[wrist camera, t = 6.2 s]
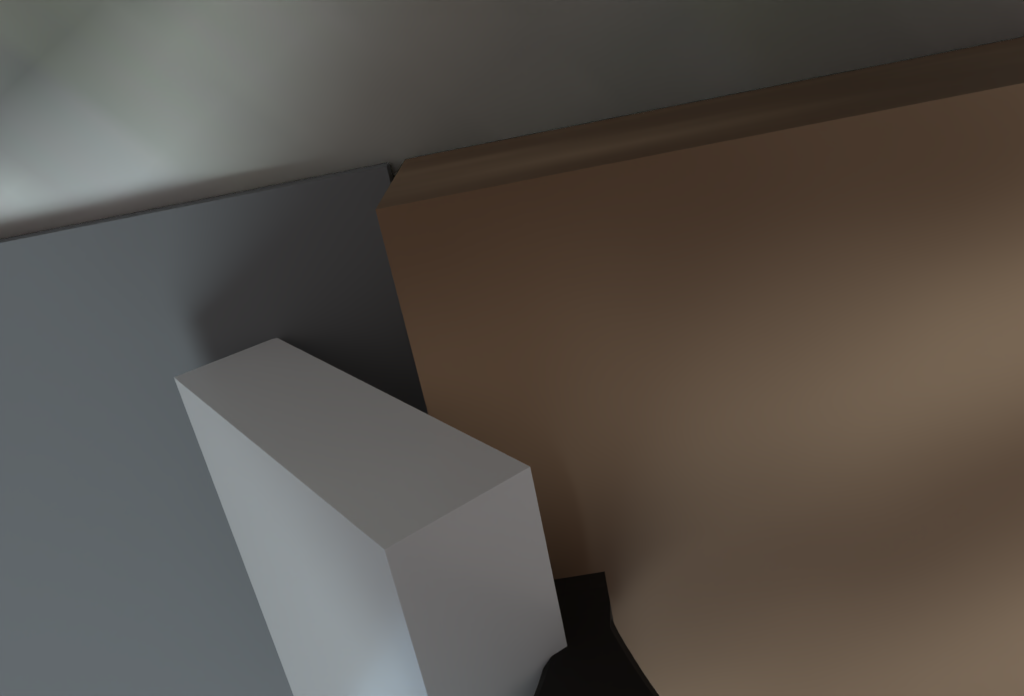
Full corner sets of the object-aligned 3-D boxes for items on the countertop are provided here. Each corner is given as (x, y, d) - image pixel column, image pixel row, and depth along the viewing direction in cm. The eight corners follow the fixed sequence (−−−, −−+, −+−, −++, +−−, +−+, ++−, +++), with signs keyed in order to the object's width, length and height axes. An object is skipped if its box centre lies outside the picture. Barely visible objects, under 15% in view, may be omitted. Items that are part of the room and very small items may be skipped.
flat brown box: (1039, 647, 20) (1164, 796, 16) (540, 725, 20) (549, 885, 17) (1079, 25, 14) (1279, 32, 11) (405, 159, 15) (375, 208, 11)
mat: (528, 728, 20) (529, 741, 20) (25, 806, 21) (17, 820, 21) (389, 162, 15) (386, 166, 15) (-274, 294, 16) (-293, 300, 16)
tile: (621, 910, 13) (521, 1010, 12) (378, 657, 19) (298, 708, 18) (529, 466, 10) (384, 550, 9) (276, 337, 16) (173, 377, 15)
